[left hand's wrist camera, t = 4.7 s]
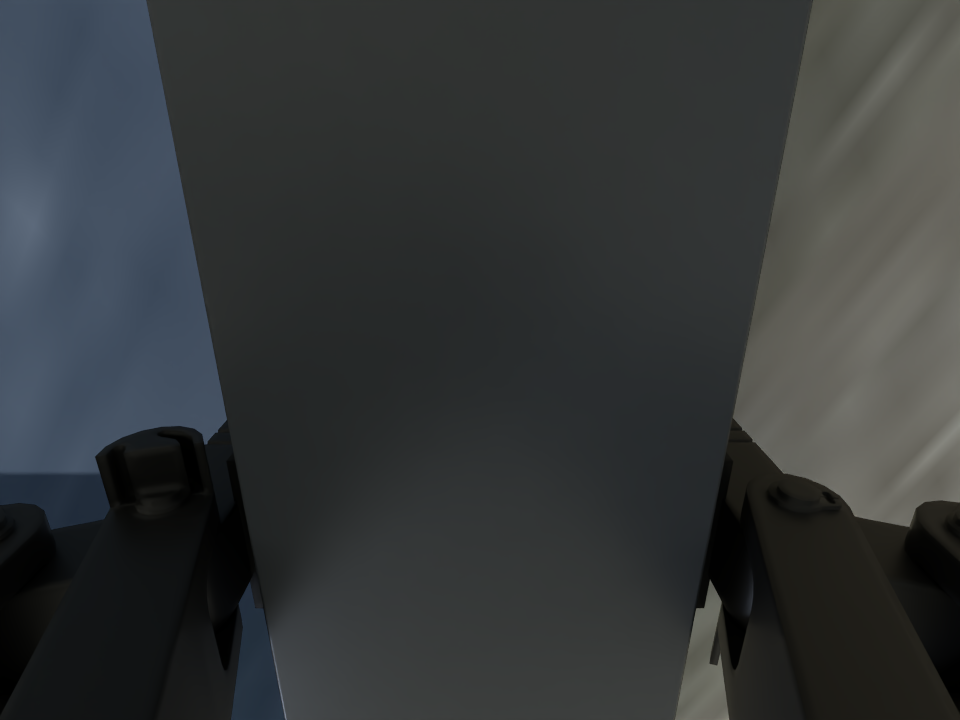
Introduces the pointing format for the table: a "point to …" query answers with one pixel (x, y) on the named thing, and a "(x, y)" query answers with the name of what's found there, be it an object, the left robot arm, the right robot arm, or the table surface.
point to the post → (479, 328)
